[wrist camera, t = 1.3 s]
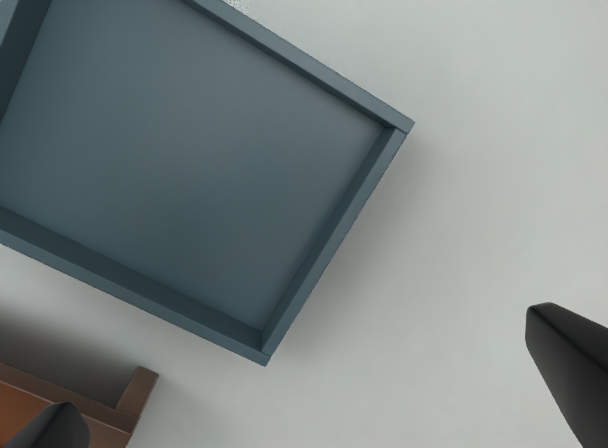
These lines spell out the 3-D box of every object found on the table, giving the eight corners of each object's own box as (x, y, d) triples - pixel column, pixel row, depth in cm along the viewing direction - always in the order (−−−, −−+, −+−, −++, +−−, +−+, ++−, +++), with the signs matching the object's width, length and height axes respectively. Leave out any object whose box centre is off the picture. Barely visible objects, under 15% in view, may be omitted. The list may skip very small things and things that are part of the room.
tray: (266, 340, 23) (265, 367, 20) (-39, 194, 20) (-82, 205, 17) (399, 121, 20) (415, 122, 18) (75, -81, 17) (43, -112, 15)
